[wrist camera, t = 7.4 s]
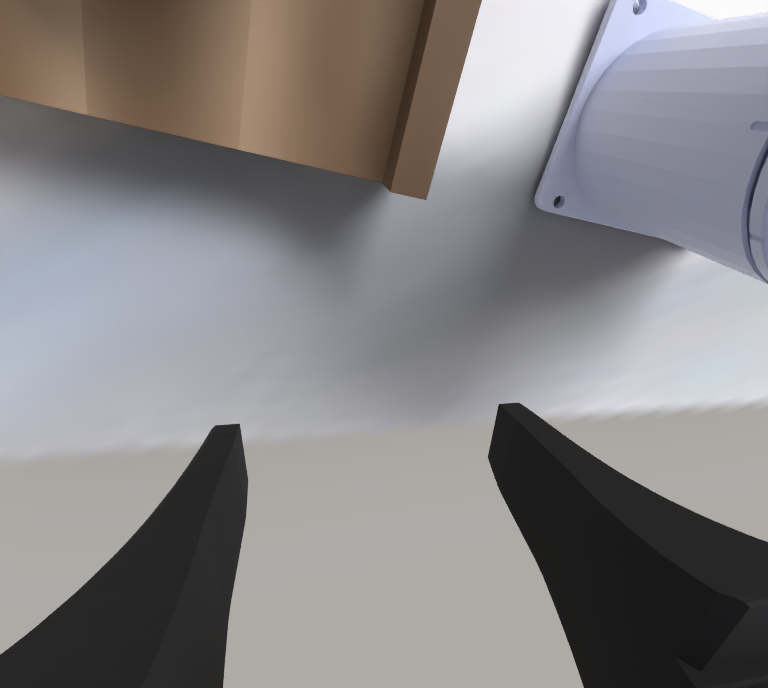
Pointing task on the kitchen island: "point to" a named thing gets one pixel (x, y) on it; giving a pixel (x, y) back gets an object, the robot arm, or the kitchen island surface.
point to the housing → (255, 74)
